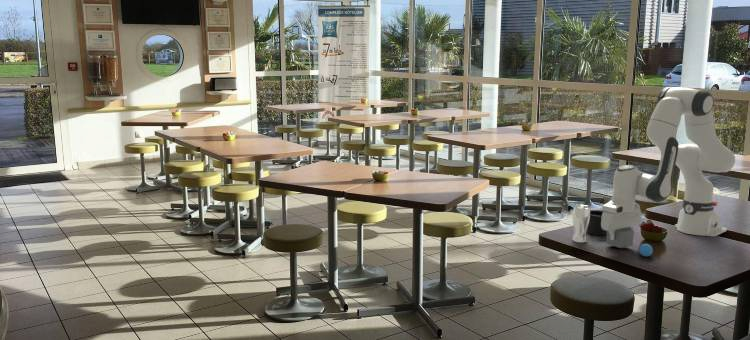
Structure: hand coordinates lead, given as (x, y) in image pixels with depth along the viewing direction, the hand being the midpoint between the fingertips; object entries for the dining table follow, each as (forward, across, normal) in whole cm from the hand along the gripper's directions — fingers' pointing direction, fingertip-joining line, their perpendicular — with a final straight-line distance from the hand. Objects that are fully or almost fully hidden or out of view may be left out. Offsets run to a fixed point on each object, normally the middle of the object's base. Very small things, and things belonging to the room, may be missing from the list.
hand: (620, 238), depth 261 cm
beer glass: (+4, +7, -15) cm, 17 cm away
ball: (+2, 0, +12) cm, 13 cm away
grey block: (+3, 0, 0) cm, 3 cm away
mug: (+4, -10, -20) cm, 22 cm away
